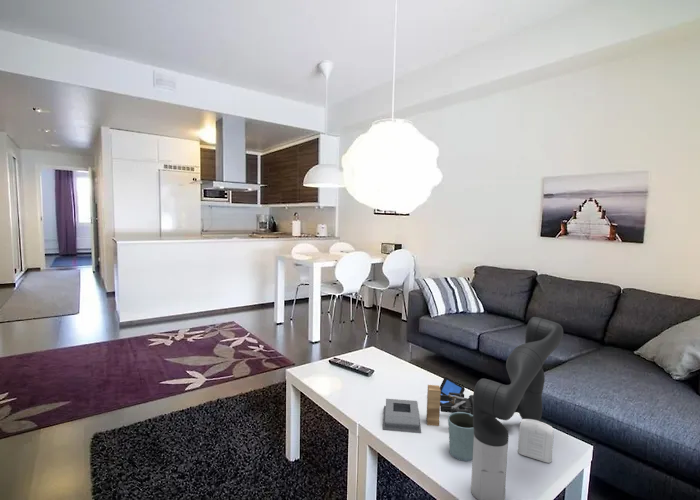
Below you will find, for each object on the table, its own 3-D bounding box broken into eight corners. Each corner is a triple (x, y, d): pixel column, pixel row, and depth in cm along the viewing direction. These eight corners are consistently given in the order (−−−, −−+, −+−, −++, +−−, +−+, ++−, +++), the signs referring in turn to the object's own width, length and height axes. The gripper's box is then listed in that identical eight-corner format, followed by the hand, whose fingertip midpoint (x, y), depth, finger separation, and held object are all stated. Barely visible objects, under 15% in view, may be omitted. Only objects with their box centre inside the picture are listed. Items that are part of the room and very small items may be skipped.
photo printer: (551, 457, 125) (554, 422, 124) (551, 465, 121) (554, 428, 120) (518, 448, 130) (520, 414, 129) (517, 454, 126) (519, 419, 125)
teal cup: (481, 451, 128) (483, 417, 127) (473, 467, 119) (475, 431, 118) (452, 440, 133) (453, 408, 132) (442, 455, 125) (443, 421, 124)
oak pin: (439, 426, 143) (440, 390, 141) (427, 425, 143) (428, 389, 142) (437, 419, 147) (439, 385, 146) (426, 418, 147) (427, 384, 146)
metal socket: (421, 433, 138) (421, 420, 137) (382, 429, 139) (383, 416, 139) (418, 410, 153) (418, 399, 153) (384, 408, 155) (384, 396, 155)
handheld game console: (426, 396, 166) (426, 380, 165) (444, 391, 171) (445, 376, 171) (445, 409, 155) (446, 392, 154) (464, 404, 160) (465, 387, 160)
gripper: (479, 388, 149) (437, 385, 151) (487, 406, 135) (441, 402, 137) (478, 406, 149) (436, 403, 151) (486, 426, 135) (441, 422, 137)
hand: (439, 402), depth 144 cm, fingers open, 8 cm apart
